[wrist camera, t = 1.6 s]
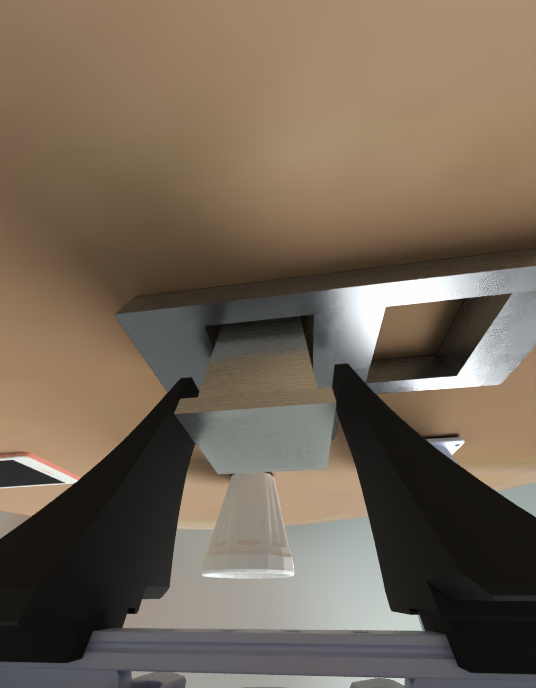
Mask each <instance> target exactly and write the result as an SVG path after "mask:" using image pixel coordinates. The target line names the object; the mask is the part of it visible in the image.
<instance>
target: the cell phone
mask: <svg viewBox="0 0 536 688" xmlns="http://www.w3.org/2000/svg"><path fill="white" fill-rule="evenodd" d="M79 479H80V477H78V476H76V475H74V474H72V473H70V472H68V471H66V470H64V469H62V468H60V467H58V466H56V465H54V464H52V463H50V462H48V461H46V460H44V459H42V458H40V457H38V456H36V455H33V454H31V453H27V452H23V453H12V454H1V455H0V488H11V487H26V486H41V485H56V484H71V483H76V482H77V481H78V480H79Z"/></svg>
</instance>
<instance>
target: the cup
mask: <svg viewBox="0 0 536 688" xmlns="http://www.w3.org/2000/svg"><path fill="white" fill-rule="evenodd" d="M201 575H202V576H207V577H219V578H278V577H279V578H280V577H290V576H293V575H294V563H293V559H292V556H291V553H290V550H289V545H288V541H287V536H286V531H285V526H284V522H283V517H282V512H281V507H280V503H279V498H278V493H277V488H276V484H275V479H274V476H273V474H271V473H270V472H256V473H235V474H233V475H232V476H231V479H230V482H229V485H228V488H227V492H226V495H225V498H224V501H223V504H222V507H221V510H220V513H219V516H218V519H217V523H216V526H215V529H214V532H213V535H212V538H211V541H210V544H209V548H208V550H207V553H206V555H205V557H204V560H203V564H202V570H201Z"/></svg>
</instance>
